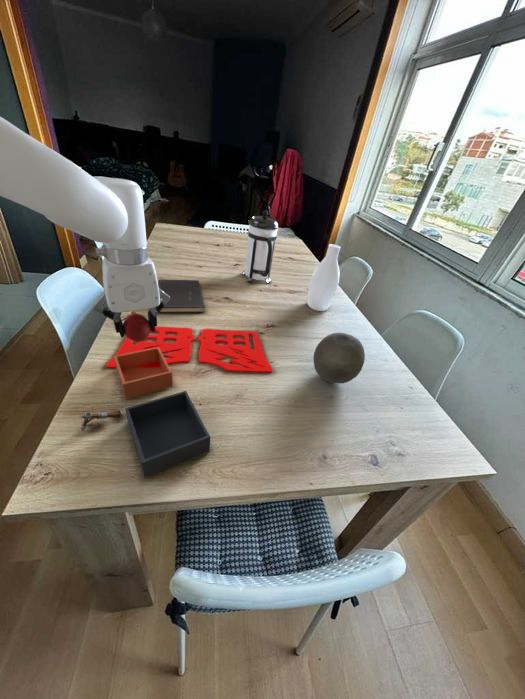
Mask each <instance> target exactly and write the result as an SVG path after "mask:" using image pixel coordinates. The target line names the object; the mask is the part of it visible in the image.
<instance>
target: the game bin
mask: <svg viewBox="0 0 525 699" xmlns="http://www.w3.org/2000/svg"><path fill="white" fill-rule="evenodd" d="M124 411H125V415H126V420H127V425H128V428H129V431H130V434H131V438H132V442H133V445H134V448H135V452H136V455H137V459H138V461H139V465H140V468H141V471H142V472H141V473H142V475H143V478H144V479H147V478H148V477H151V476H154V475H156V474H158V473H161V472H163V471H166V470H168V469H170V468H171V469H172V468H173V467H176V466H178V465H180V464H183V463H185V462H189V461H190V460H192V459H195V458H197V457H199V456H202V455H205V454H207V453H209V452H210V450H211V435H210V434H209V432H208V430H207V427H206V426H205V424H204V422H203V420H202V419H201V416H200V414H199V412H198V410H197V409H196V406H195V405H194V403H193V401H192V399H191V397H190V395H189V394H188V391H187V390H183V391H180V392H176V393H172V394H169V395H165V396H163V397H159V398H156V399H152V400H149V401H145V402H141V403H138V404H135V405H131V406H128V407H125V408H124Z"/></svg>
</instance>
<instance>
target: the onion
mask: <svg viewBox="0 0 525 699" xmlns="http://www.w3.org/2000/svg"><path fill="white" fill-rule="evenodd" d="M130 313H131V314H130V315H128V316H127V317H126V318H125V319H124V320H123V322H122V323H123V329H124V335H125V337H128V338H129V339H131V340H133V342H135V343H138V342H140V341H143V340H144V341H146V340H147V339H146V338H147V337H148V336H149V335H151V333H152V332H151V327H150V323H149V321H148V317H145V316H144V315H143V314H140V313H138V312H136V311H130Z"/></svg>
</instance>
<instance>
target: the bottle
mask: <svg viewBox="0 0 525 699" xmlns="http://www.w3.org/2000/svg"><path fill="white" fill-rule="evenodd" d="M327 247H328V248H327V251H326V254H325V257H323V259H322V260H321V261H320V262H319V263H318V264H317V266H316V268H315V269H314V271H313V273H312V275H311V278H310V281H309V287H308V291H307V292H308V293H307V303H306V304H307V306H308V307H309V308H310V309H312V310H314V311H317V312H324V311H327V310H328V309H329V308H330V306H331V303H332V302H333V300H334V297H335V295H336V292H337V289H338V287H339V283H340V266H339V262H338V259H339V258H338V257H339V254H340V250H341V249H342V248H341V245H338V244H336V243H335V244H334V243H329V244H328V246H327Z"/></svg>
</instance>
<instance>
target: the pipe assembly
mask: <svg viewBox="0 0 525 699" xmlns="http://www.w3.org/2000/svg"><path fill="white" fill-rule="evenodd" d="M123 416H124V412H123V410H122V408H118V410H117V411H116V410H115V411H112V412H107V411H105V412H97V413H92V412H90V411H89V412H84V413H83V414H81V415H80V418H81V419H83V422H82V423H81V427H80V431H81V432H82V431H85V430H86V428H87V427H88V428H91V429H93V428H98V427H99V426H100V425H101V423H100V422H99V421H93V420H94V419H97V420H104V419H108V418H109V419H110V418H113V419H114V418H115V419H118V420H119V421H122V419H123ZM89 422H90V423H89Z"/></svg>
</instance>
